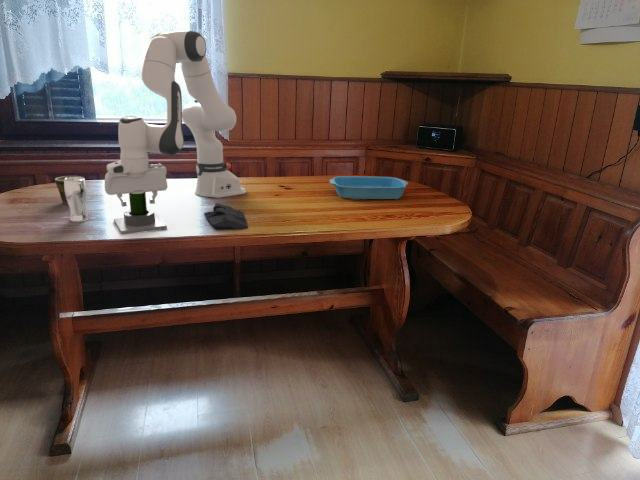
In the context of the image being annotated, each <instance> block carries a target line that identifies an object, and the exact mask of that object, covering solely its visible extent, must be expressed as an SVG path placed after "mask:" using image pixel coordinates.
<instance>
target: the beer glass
mask: <svg viewBox="0 0 640 480" xmlns="http://www.w3.org/2000/svg"><path fill="white" fill-rule="evenodd" d="M64 189H65V195H66V199H67V202H68V205H67V206H68V208H69V211H70V212H69V213H70V214H69V220H70V221H71V222H72V223H73V222H74V223H82V222H87V221H89V218H90V217H89V215H88V211H87V204H88V203H87V202H88V200H87V199H88V198H87V197H88V190H87V184H86V179H85V177H83V176H81V177H69V178H65V179H64Z"/></svg>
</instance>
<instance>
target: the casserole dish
mask: <svg viewBox="0 0 640 480" xmlns="http://www.w3.org/2000/svg"><path fill="white" fill-rule="evenodd" d="M329 183H330V184H331V185H333V186H334V189H335V191H336V193H337V196H338V197H340V198H341V197H343V198H342V199H344V198H352V199H351V200H359V199H395V200H398V199H400V198H401V197H402V196H403V194H404V192H405V189H406V187H407V186H408V185H409V182H408V181H406V180H404V179H400V178H397V177H392V176H359V175H358V176H355V175H349V176H348V175H346V176H345V175H343V176H341V175H339V176H334V177H333V178H332V179H329Z"/></svg>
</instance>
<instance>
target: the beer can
mask: <svg viewBox="0 0 640 480" xmlns="http://www.w3.org/2000/svg"><path fill="white" fill-rule="evenodd" d="M146 193H147V192H143V190H136V191H133V193H128V196H129V198H128V199H129V206H130V208H129V209H130V210H131V215H136V216H138V215H146V214H147V209H148V206H147V196H146V195H147V194H146Z"/></svg>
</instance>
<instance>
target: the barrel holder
mask: <svg viewBox="0 0 640 480" xmlns="http://www.w3.org/2000/svg"><path fill="white" fill-rule="evenodd" d="M113 222H114V224H115V226H116V227H117V229H118V231H119V232H120V234H121V235H128V234H136V233H145V231H146V232H153V230H154V231H161V230H167V229H168V226H167V224H166V223H165V222H164V221H163V220H162V218H161V217H160V216H159V215H158V214H155V211H153V210H152V209H148V208H147V214H146V215H138V216H136V215H131V210H126V211H124V212H123V217H118V218H117V217H116V218H113Z"/></svg>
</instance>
